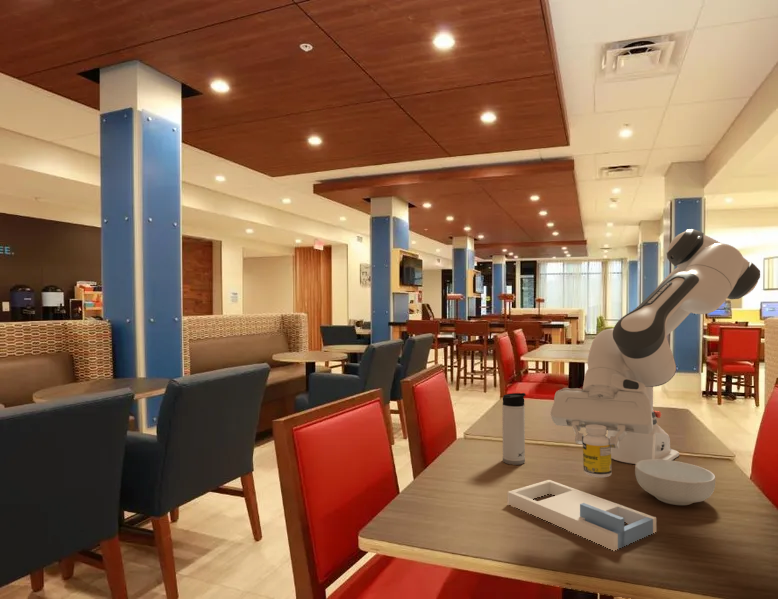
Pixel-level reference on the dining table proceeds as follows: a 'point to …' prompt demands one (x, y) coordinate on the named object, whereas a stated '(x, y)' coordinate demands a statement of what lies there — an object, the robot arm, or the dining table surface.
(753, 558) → the dining table surface
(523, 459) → the travel mug
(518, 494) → the pocket rack
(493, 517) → the dining table surface
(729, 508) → the dining table surface
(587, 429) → the supplement bottle
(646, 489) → the cereal bowl
